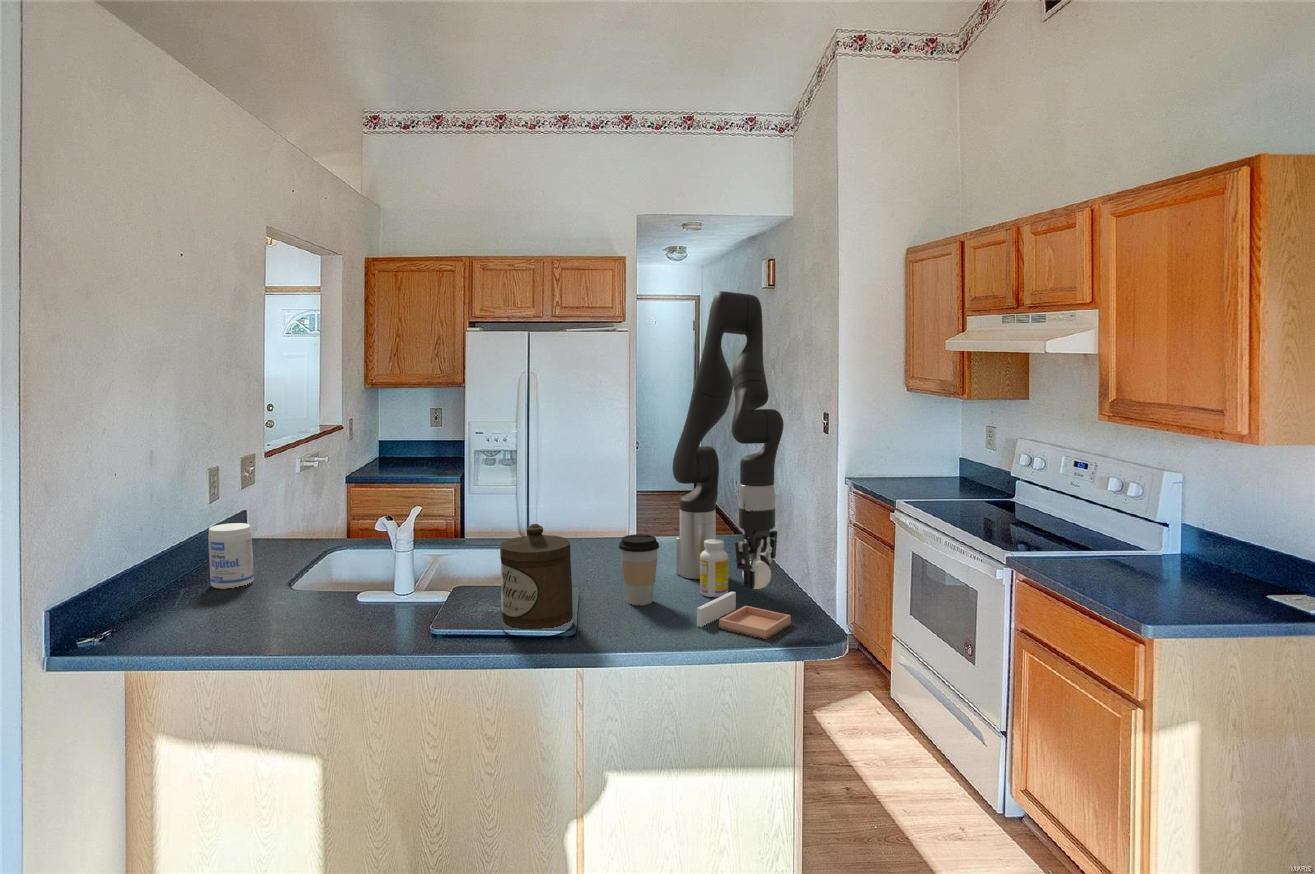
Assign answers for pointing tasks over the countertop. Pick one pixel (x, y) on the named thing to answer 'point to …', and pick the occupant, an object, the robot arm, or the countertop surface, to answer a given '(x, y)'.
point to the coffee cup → (639, 567)
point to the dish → (755, 622)
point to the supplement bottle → (714, 569)
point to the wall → (716, 608)
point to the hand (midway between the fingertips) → (756, 584)
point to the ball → (761, 574)
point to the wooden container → (536, 580)
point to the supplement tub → (230, 555)
